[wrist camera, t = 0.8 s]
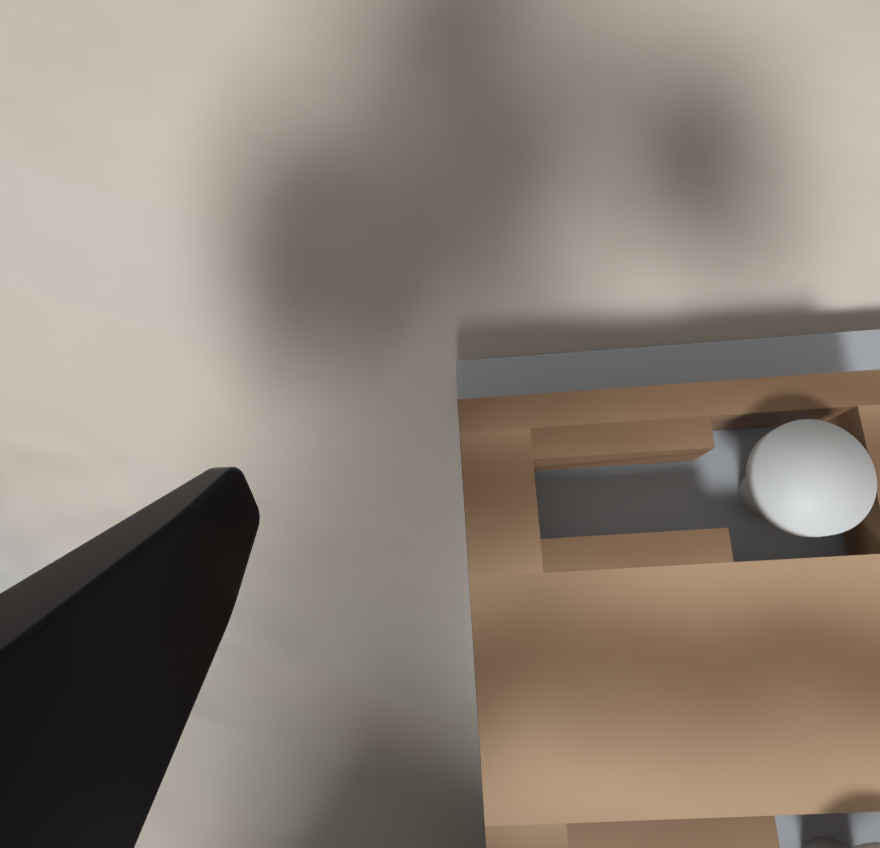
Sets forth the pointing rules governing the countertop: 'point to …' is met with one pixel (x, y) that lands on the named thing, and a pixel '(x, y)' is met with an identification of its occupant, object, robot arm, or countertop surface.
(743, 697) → the panel
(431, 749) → the countertop surface
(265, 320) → the countertop surface
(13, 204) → the countertop surface
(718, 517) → the boss board
